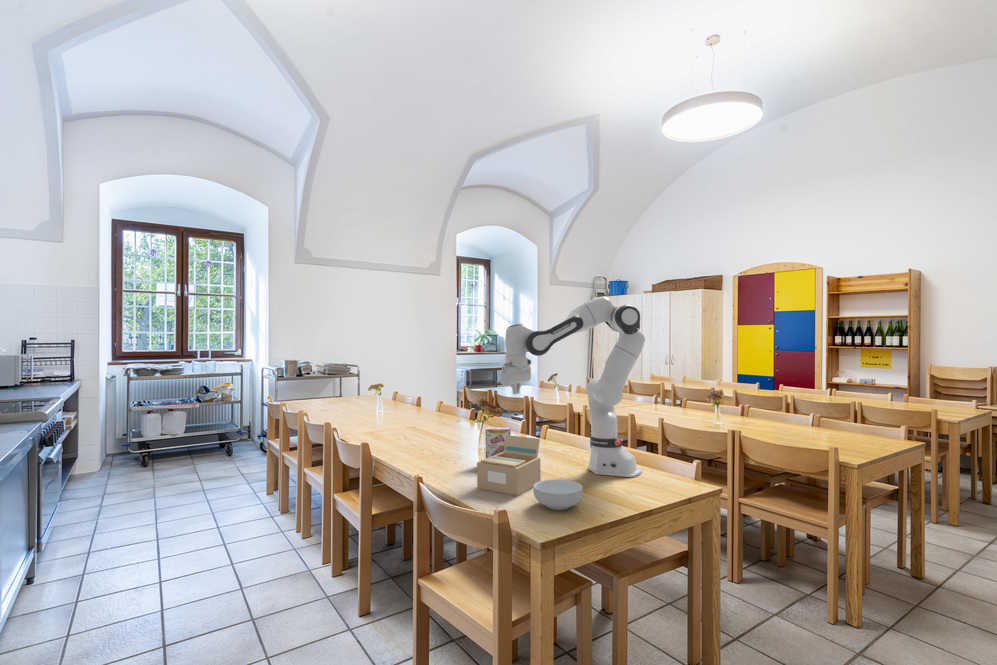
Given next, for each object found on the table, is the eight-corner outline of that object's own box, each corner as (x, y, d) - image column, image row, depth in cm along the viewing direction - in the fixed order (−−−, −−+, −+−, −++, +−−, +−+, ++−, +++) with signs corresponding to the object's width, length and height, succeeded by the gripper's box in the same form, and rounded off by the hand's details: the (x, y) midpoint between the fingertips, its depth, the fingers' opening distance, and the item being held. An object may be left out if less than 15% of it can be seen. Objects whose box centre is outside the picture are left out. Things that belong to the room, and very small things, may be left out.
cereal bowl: (592, 505, 173) (592, 484, 173) (564, 519, 160) (564, 497, 160) (552, 494, 184) (551, 475, 184) (523, 507, 172) (523, 486, 171)
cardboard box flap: (536, 457, 198) (537, 457, 199) (539, 438, 200) (540, 439, 201) (503, 452, 206) (504, 452, 207) (506, 435, 208) (507, 435, 209)
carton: (540, 483, 198) (540, 457, 198) (517, 496, 183) (517, 468, 183) (501, 476, 208) (501, 452, 208) (477, 488, 192) (476, 462, 192)
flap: (481, 461, 192) (481, 460, 192) (492, 457, 199) (492, 455, 199) (515, 467, 184) (515, 465, 184) (525, 462, 191) (525, 460, 191)
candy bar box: (485, 465, 224) (485, 429, 224) (486, 463, 229) (486, 427, 229) (510, 466, 223) (510, 429, 223) (511, 463, 228) (510, 427, 228)
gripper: (509, 363, 206) (510, 397, 206) (533, 360, 223) (533, 391, 223) (496, 362, 209) (497, 396, 209) (520, 360, 226) (521, 390, 226)
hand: (516, 393), depth 216 cm, fingers closed
